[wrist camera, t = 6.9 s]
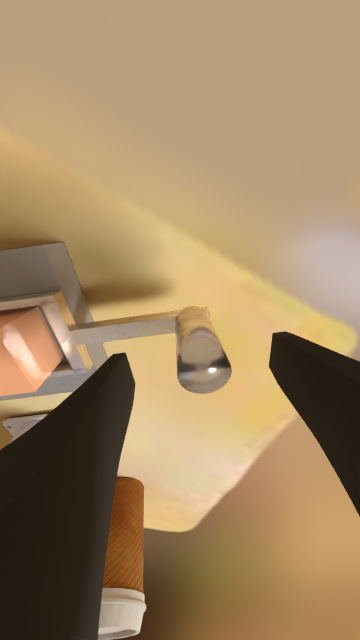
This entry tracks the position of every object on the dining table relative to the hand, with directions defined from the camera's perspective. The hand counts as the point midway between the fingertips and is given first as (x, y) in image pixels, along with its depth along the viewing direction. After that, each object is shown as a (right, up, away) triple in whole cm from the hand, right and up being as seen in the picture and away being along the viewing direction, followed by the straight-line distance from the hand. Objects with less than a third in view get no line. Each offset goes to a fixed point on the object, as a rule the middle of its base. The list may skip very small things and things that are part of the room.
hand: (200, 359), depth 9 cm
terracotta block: (-13, +1, +5) cm, 14 cm away
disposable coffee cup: (-10, -25, +21) cm, 34 cm away
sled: (-8, +1, +4) cm, 9 cm away
